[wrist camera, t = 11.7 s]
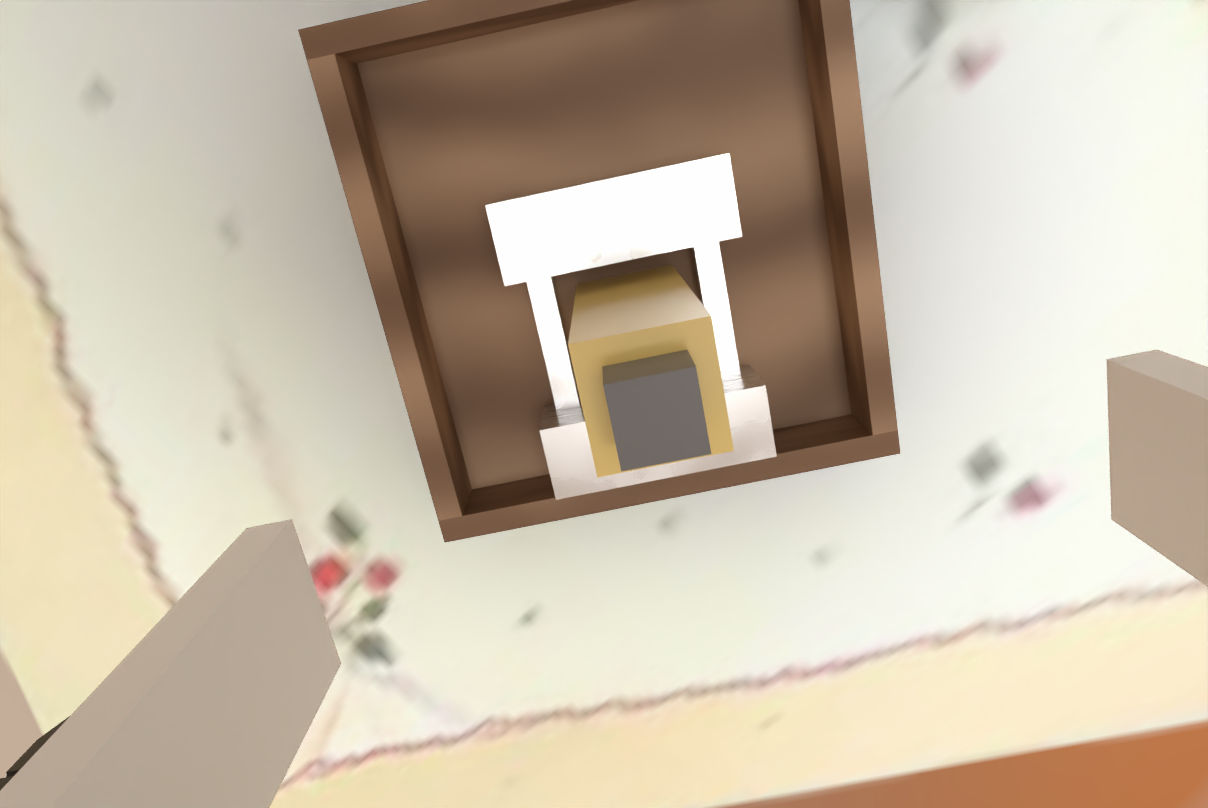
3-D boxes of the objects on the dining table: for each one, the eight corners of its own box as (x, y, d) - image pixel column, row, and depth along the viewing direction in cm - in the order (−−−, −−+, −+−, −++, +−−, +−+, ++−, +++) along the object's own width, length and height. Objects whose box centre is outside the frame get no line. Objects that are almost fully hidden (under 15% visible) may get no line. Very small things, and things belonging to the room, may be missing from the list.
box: (329, 43, 32) (298, 29, 29) (812, -65, 31) (839, -93, 28) (457, 508, 38) (444, 542, 34) (872, 426, 37) (900, 453, 33)
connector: (576, 284, 34) (565, 361, 21) (671, 264, 34) (722, 329, 21) (596, 375, 35) (597, 504, 22) (688, 357, 35) (746, 476, 22)
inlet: (495, 201, 33) (485, 205, 30) (715, 154, 33) (729, 153, 30) (559, 469, 37) (555, 499, 33) (760, 430, 36) (776, 456, 33)
